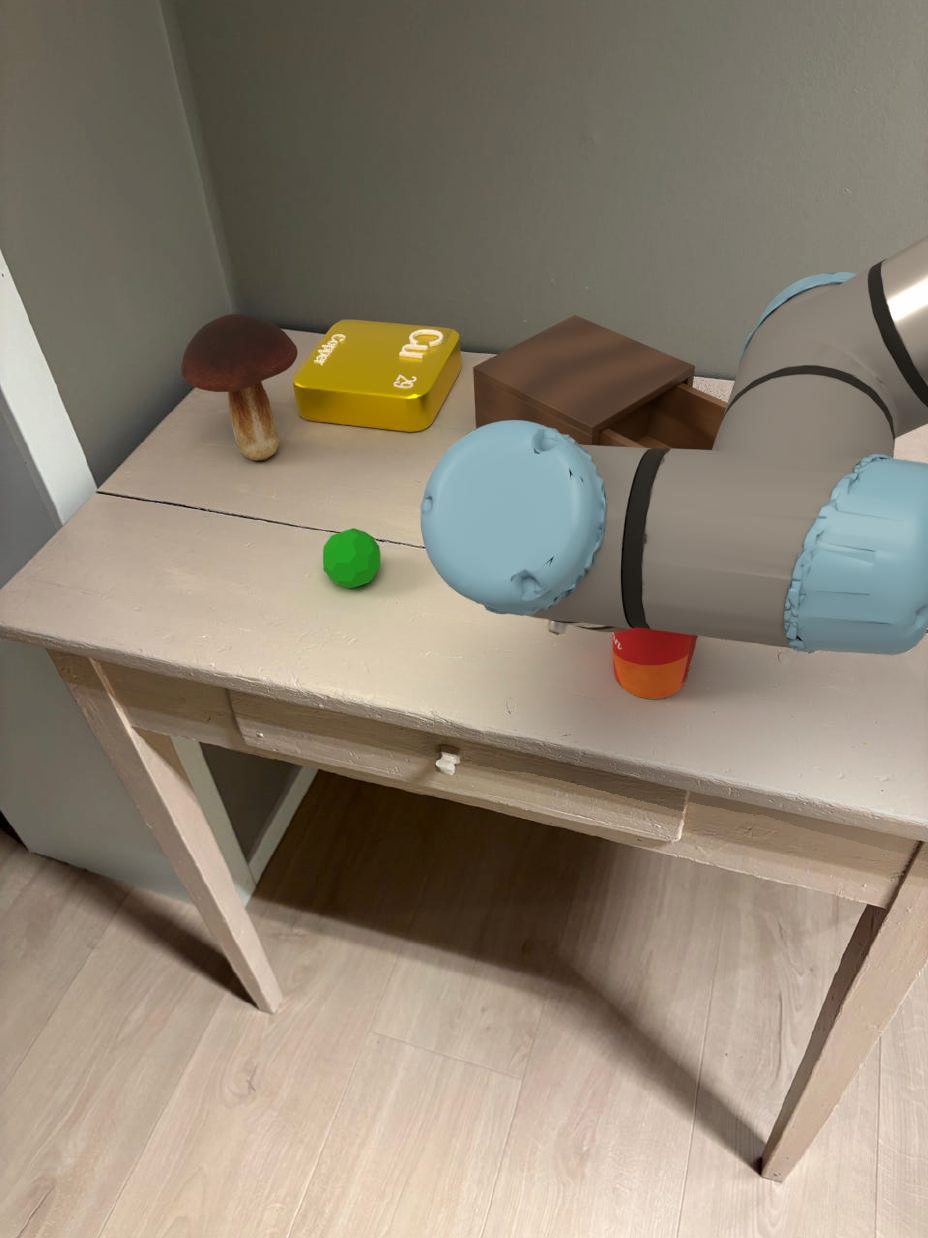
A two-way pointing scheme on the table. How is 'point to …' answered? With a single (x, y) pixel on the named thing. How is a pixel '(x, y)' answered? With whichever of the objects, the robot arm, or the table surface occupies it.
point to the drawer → (669, 422)
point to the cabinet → (574, 379)
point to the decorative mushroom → (241, 374)
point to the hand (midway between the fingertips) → (671, 596)
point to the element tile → (378, 375)
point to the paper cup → (652, 661)
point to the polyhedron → (351, 558)
